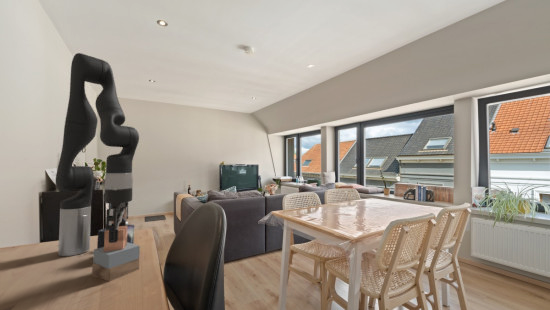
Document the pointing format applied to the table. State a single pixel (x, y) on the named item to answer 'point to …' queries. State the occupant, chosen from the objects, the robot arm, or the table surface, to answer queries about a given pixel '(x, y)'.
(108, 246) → the terracotta block
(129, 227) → the small box
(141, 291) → the table surface
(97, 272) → the tower base
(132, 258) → the tower top
